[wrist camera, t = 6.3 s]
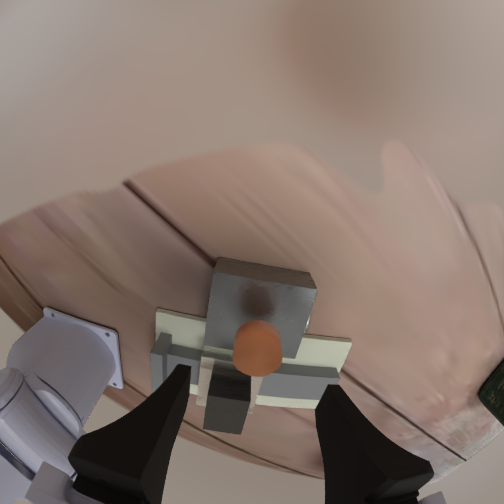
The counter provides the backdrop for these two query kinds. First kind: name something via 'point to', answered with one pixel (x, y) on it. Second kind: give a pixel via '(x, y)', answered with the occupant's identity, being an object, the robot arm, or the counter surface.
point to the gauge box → (258, 302)
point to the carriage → (225, 391)
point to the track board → (304, 355)
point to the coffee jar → (494, 394)
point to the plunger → (257, 348)
